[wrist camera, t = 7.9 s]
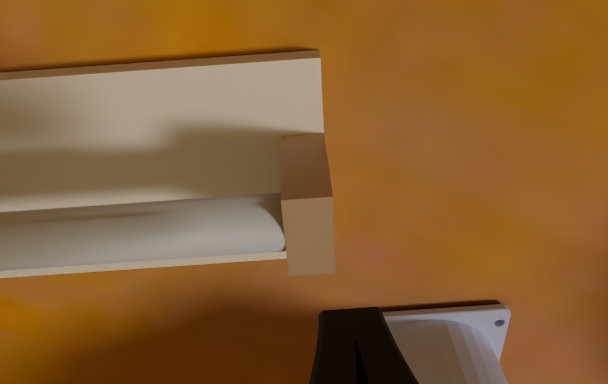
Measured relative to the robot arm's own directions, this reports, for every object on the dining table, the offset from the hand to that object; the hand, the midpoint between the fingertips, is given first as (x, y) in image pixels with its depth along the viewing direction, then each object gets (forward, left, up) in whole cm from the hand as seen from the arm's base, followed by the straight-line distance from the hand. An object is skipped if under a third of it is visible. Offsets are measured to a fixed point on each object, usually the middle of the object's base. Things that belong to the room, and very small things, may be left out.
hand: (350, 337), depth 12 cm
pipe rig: (-1, +11, -10) cm, 15 cm away
